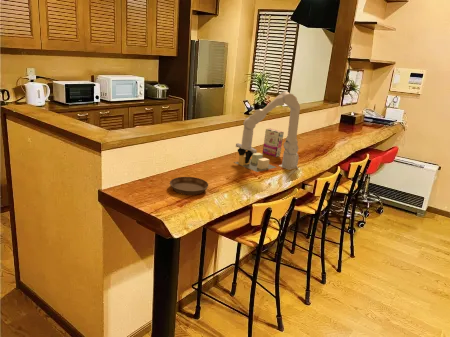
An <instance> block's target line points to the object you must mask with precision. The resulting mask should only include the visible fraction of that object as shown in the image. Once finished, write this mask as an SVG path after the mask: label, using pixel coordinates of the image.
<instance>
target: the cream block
mask: <svg viewBox="0 0 450 337" xmlns="http://www.w3.org/2000/svg"><path fill="white" fill-rule="evenodd" d="M269 164H270V159H269V158H267V157H263V158H262V159H258V164H257V168H259V169H266V168H268V167H269Z"/></svg>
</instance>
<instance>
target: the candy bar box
mask: <svg viewBox="0 0 450 337" xmlns="http://www.w3.org/2000/svg"><path fill="white" fill-rule="evenodd" d="M283 139H284V131H281V130H277V129H273V128H266V129H265V134H264V139H263V147H262V154H266V155H268V156H271V157H273V158H279V157H281V152H282V145H283Z"/></svg>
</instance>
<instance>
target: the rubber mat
mask: <svg viewBox="0 0 450 337" xmlns="http://www.w3.org/2000/svg"><path fill="white" fill-rule="evenodd" d="M238 162H239V161H235V162H233V163H234V164H235V165H239V166H241V167H243V168H245V169H248V170H251V171H253V172H256V173H259V172H263V171H267V170H271V169H275V168H276V169H277V166H275V165H272V164H270V163H269V167H268V168H266V169H259V168H257V164H258V163H256V164H255V163H253V162H251V158H250V164H248V165H240V164H238Z"/></svg>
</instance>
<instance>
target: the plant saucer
mask: <svg viewBox="0 0 450 337" xmlns="http://www.w3.org/2000/svg"><path fill="white" fill-rule="evenodd" d="M169 185H170V187H171V188H172V190H174V191H175V192H176V193H178V194H181V193H182V195H186V194H187V195H188V196H191V195H195V196H196V195H199V194H202V193H203V192H205V190H207V188H208V187H209V183H208V181H207V180H204V179H202V178H198V177H194V176H193V177H192V176H180V177H175V178H173V179H171V180H170V181H169Z"/></svg>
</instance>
